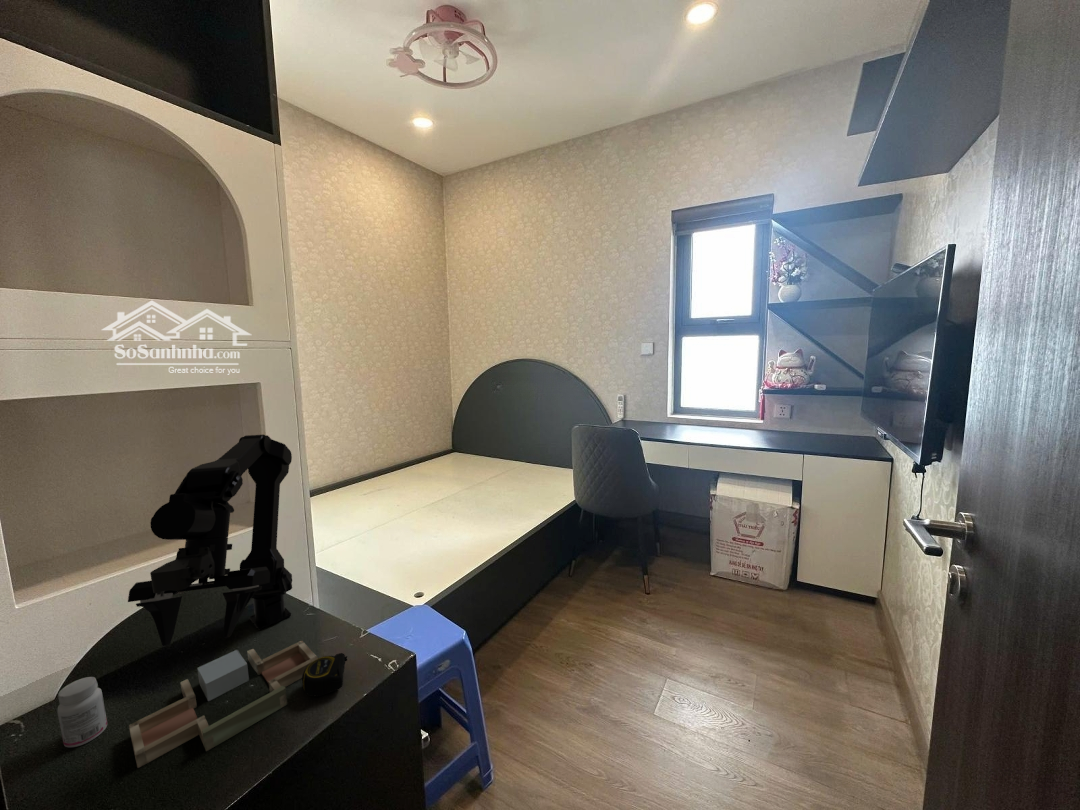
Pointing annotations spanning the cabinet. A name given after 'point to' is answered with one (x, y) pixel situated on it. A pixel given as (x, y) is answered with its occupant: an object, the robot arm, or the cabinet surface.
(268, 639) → the cabinet surface
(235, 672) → the block
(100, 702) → the pill bottle
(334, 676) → the tape measure
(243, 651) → the cabinet surface
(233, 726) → the box
